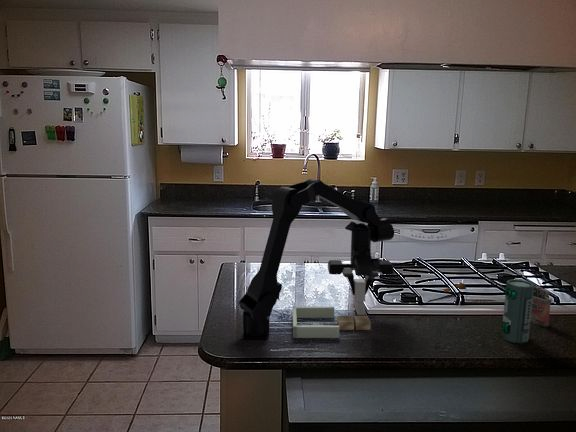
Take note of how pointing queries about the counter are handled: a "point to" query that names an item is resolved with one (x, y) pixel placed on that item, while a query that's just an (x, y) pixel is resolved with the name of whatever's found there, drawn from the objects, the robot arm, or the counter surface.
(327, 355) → the counter surface
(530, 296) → the can
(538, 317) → the red printed box
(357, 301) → the grey stepped block
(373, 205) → the robot arm
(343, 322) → the chip
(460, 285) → the primitive tool
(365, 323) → the chip
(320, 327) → the green u-shaped frame
